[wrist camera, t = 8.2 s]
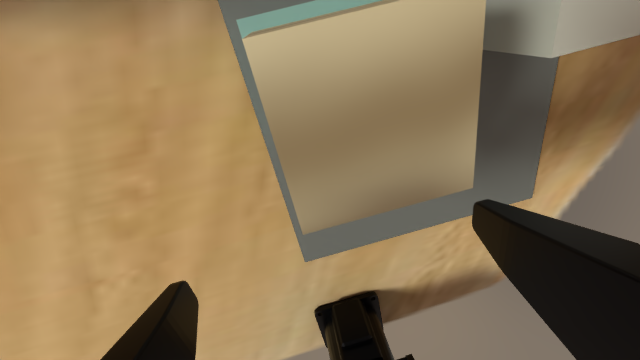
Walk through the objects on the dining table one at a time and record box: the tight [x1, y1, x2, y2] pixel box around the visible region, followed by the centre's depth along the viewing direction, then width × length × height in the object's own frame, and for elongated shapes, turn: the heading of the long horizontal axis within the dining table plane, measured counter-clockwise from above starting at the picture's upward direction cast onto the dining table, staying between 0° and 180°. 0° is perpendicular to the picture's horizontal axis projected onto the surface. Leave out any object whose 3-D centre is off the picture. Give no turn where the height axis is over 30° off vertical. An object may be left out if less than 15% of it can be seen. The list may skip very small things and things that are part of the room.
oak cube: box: [242, 0, 486, 235], centre depth 11 cm, size 6×6×6 cm
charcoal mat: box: [218, 0, 559, 262], centre depth 20 cm, size 22×21×1 cm
